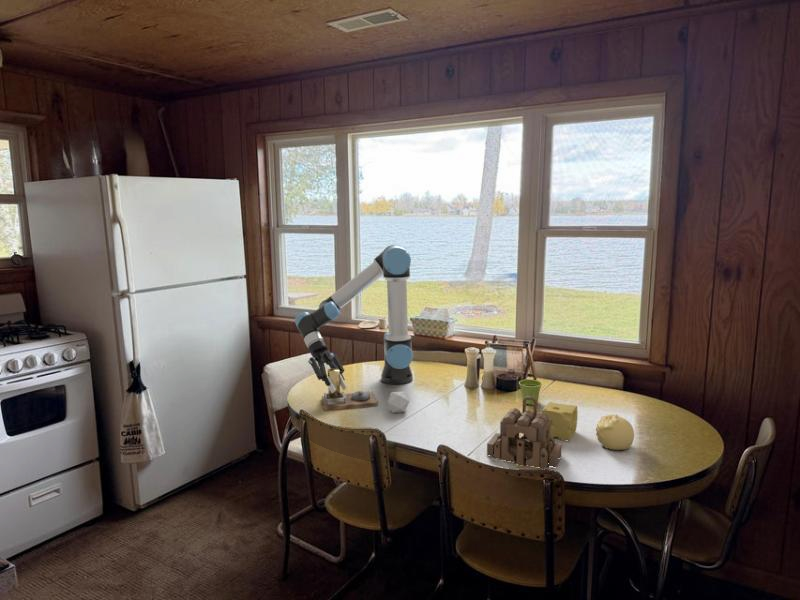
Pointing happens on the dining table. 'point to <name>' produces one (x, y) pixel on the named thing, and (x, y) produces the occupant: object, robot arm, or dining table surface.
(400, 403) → the die
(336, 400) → the gear board
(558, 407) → the cheese
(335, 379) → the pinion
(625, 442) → the sculpture
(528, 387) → the plant pot
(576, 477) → the dining table surface
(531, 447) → the wooden puzzle
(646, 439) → the dining table surface
